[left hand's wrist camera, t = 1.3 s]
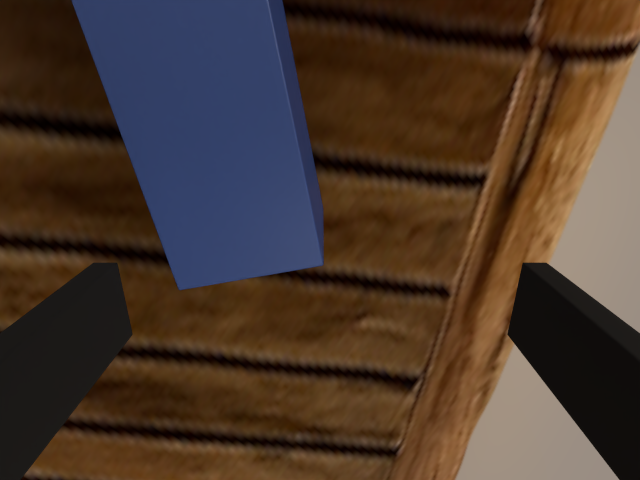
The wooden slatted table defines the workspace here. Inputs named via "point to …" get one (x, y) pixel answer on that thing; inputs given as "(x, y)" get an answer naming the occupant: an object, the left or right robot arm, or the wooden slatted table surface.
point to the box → (212, 131)
